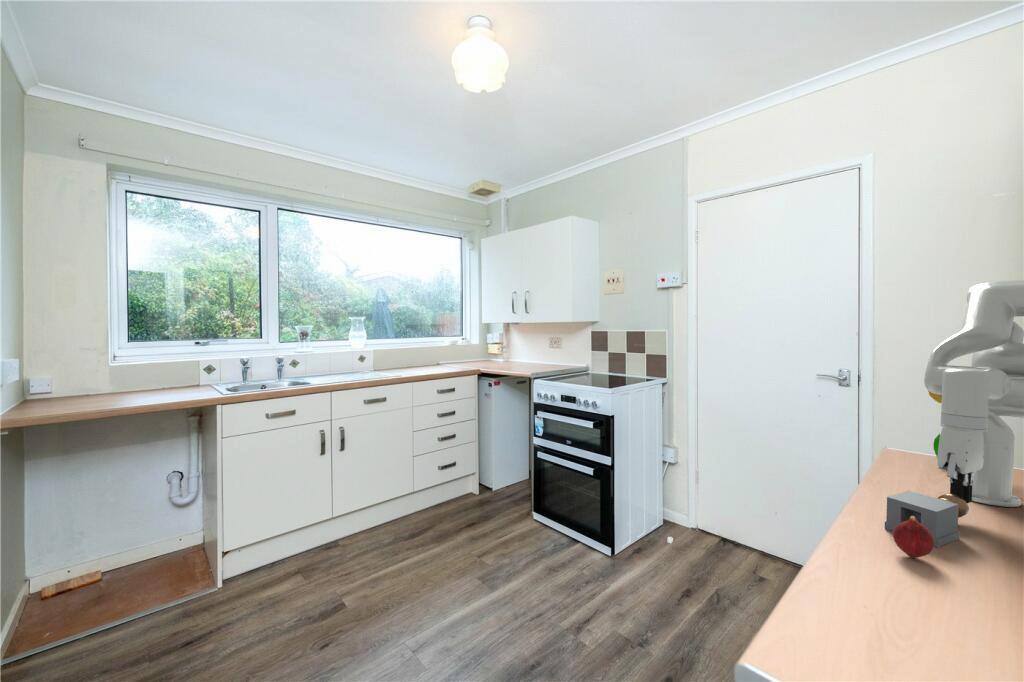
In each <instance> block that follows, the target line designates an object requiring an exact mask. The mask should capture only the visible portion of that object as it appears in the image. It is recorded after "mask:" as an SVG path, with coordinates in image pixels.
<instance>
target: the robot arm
mask: <svg viewBox="0 0 1024 682" xmlns="http://www.w3.org/2000/svg"><path fill="white" fill-rule="evenodd" d="M966 302H967V305H966V310H965V313H964V318H963V320H962V321H963V322H962V325H961V330H960V331H958V332H957V333H955V334H953V335H951V336H949V337H948V338H947V339H945V340H943V341H941V343H939V344H938V345H937V346H936V347H935V348H934V349H933V351H932V352H931V353H930V355H929V359H928V362H927V364H926V368H925V373H924V378H923V380H924V381H923V383H924V386H925V388H926V390H927V391H928V390H929V391H930V392H932V393H934V394H938V395H942V402H941V403H940V404H941V407H940V409H941V410H940V426H941V431H940V440H939V448H938V458H937V457H936V460H937V461H936V466H937V468H938V469H940V470H945V469H946V468H947V473H946V477H947V478H949V482H950V485H949V494H955V495H957V496H959V497H961V498H962V499H964V500H965V501H966V503H967V504H970V503H972V502H976V503H980V504H984V505H990V506H996V507H1006V508H1007V507H1008V508H1016V507H1017V508H1018V507H1021V506H1022V503H1023V502H1022V499H1021V498H1019V497H1018V496H1016V495H1013V486H1014V485H1013V482H1014V478H1013V477H1014V458H1015V433H1014V431H1013V429H1012V428H1011V427H1010V426H1009V424H1008V423H1007V422H1006V421H1005V420H1003V419H1002V418H1001V417H1011V418H1012V417H1013V418H1020V419H1024V343H1023V342H1024V328H1022V327H1021V326H1020V325H1019V324H1018V323H1017V322H1016V321H1014V319H1015V318H1016V317H1024V279H1016V280H1015V279H1013V280H998V281H987V282H982V283H979V284H976V285H973V286H971V287H970V288H969V289H968V292H967V294H966ZM970 354H972V356H971V366H967V365H948V364H949V363H950V362H951V361H954V360H955V359H957V358H960V357H962V356H966V355H970Z"/></svg>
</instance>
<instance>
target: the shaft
mask: <svg viewBox="0 0 1024 682" xmlns="http://www.w3.org/2000/svg"><path fill="white" fill-rule="evenodd" d="M936 498H937V499H941V500H945V501H948V502H952V503H956V504H959V505H958V519H959V518H962V517H964V516H966V515H968V513H969V509H970V507H969V505H968V504H969V503H966V501H965V500H964V499H962V498H961V497H959V496H957V495H955V494H950V493H945V494H941V495H940V496H938V497H936ZM919 514H920V516H921V513H920V512H919Z"/></svg>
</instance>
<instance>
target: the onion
mask: <svg viewBox="0 0 1024 682" xmlns="http://www.w3.org/2000/svg"><path fill="white" fill-rule="evenodd" d="M892 537H893V541H894V543H895V544H896V546H897V547H898V548H899V549H900V550H901V551H902V552H903V553H905V555H907V556H908V557H909V558H913V559H917V558H919V557H921V558H922V557H925V556H927V555H929V554H930V553H931V552H932V551H933V549H934V548H935V546H934V540H933V537H932V535H931V533H930V532H929V531H928V530H927V528H926V527H924V526H923V525H922V524H920V523H919V522H918V521H917V519H916V518H915V517H914V516H911V517H910V519H909V520H908V521H904V522H902V523H900V524H898V525H897V526H896V527H895V528H894V530H893V531H892Z"/></svg>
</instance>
